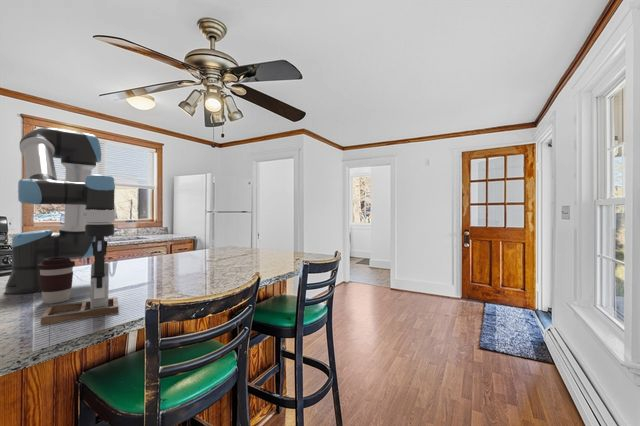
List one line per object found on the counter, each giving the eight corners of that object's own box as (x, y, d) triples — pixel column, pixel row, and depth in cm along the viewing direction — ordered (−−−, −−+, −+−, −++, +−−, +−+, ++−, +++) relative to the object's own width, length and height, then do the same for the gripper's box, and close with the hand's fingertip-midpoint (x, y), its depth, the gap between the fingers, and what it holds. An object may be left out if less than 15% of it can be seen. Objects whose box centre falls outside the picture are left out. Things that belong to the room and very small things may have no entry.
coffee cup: (52, 306, 100) (52, 261, 99) (29, 304, 102) (29, 260, 101) (81, 298, 109) (82, 256, 109) (60, 296, 111) (60, 255, 111)
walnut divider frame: (47, 312, 94) (48, 306, 94) (117, 303, 104) (117, 297, 104) (40, 324, 84) (40, 317, 84) (118, 313, 94) (118, 306, 94)
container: (93, 308, 98) (93, 262, 98) (110, 307, 99) (110, 262, 99) (87, 313, 93) (88, 265, 93) (105, 312, 95) (106, 264, 95)
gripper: (87, 222, 102) (86, 290, 102) (83, 225, 86) (82, 305, 86) (113, 222, 106) (113, 287, 106) (114, 224, 90) (114, 301, 91)
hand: (99, 295), depth 96 cm, fingers open, 6 cm apart
